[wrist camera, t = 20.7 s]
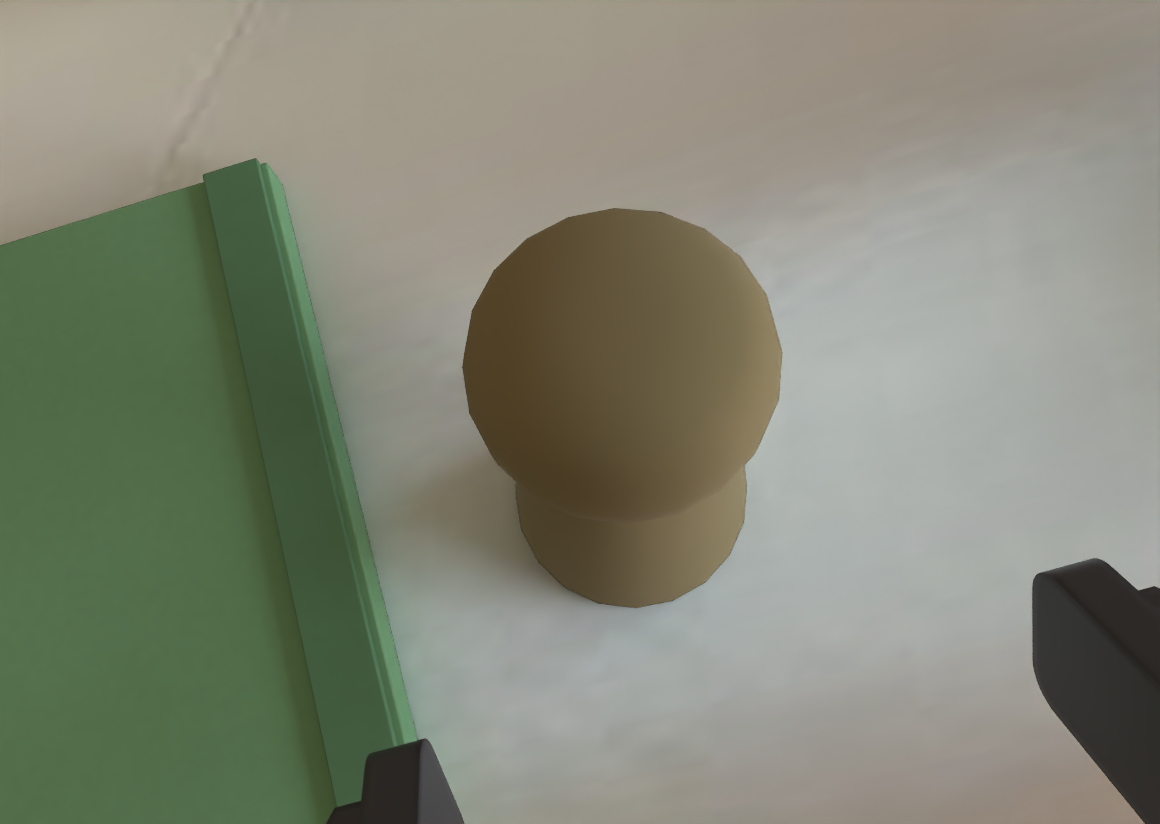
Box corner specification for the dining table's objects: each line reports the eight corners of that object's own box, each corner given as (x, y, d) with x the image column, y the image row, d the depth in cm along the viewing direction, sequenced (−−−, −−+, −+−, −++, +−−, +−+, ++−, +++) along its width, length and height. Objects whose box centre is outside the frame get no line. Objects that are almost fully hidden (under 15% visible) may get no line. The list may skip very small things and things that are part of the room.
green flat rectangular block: (-139, 315, 27) (-182, 293, 26) (282, 183, 28) (262, 155, 26) (-75, 1284, 20) (-132, 1330, 18) (502, 1084, 20) (491, 1113, 19)
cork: (516, 612, 23) (409, 534, 13) (515, 387, 25) (421, 157, 15) (756, 603, 23) (850, 517, 12) (737, 376, 25) (805, 134, 14)
